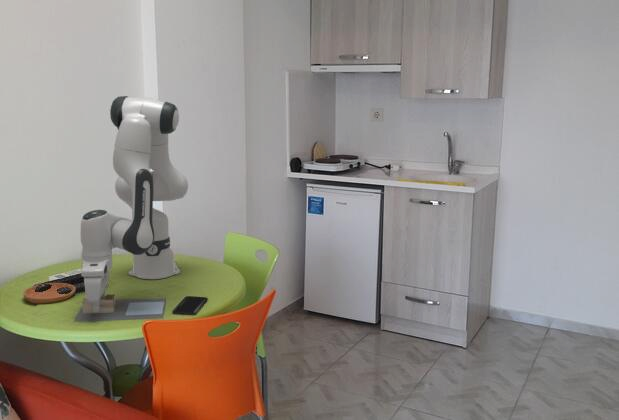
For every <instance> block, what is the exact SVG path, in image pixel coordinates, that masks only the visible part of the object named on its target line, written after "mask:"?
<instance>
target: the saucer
mask: <svg viewBox="0 0 619 420" xmlns="http://www.w3.org/2000/svg"><path fill="white" fill-rule="evenodd" d="M44 284H50V285H52V286H51V288H50V289H48V290H46V291H43V292H35V289H36V287H37V286H39V285H44ZM62 287H69V288H71V290H72V291H71V292H70V293H66V294H65V293H64V294H59V293H58V292H59V291H58V292H57V289H59V288H62ZM75 293H76V287H75V285H73V284H71V283H70V284H69V283H67V282H49V283H40V284H36V285H32V286H30V287H28V288H25V290H24V291H23V292H22V294H23V297H24V299H26V301H28V302H30V303H31V304H35V305H38V304H52V303H53V304H54V303H59V302H62V301H65V300H68V299H69V298H72V297H73V296H74V294H75Z"/></svg>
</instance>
